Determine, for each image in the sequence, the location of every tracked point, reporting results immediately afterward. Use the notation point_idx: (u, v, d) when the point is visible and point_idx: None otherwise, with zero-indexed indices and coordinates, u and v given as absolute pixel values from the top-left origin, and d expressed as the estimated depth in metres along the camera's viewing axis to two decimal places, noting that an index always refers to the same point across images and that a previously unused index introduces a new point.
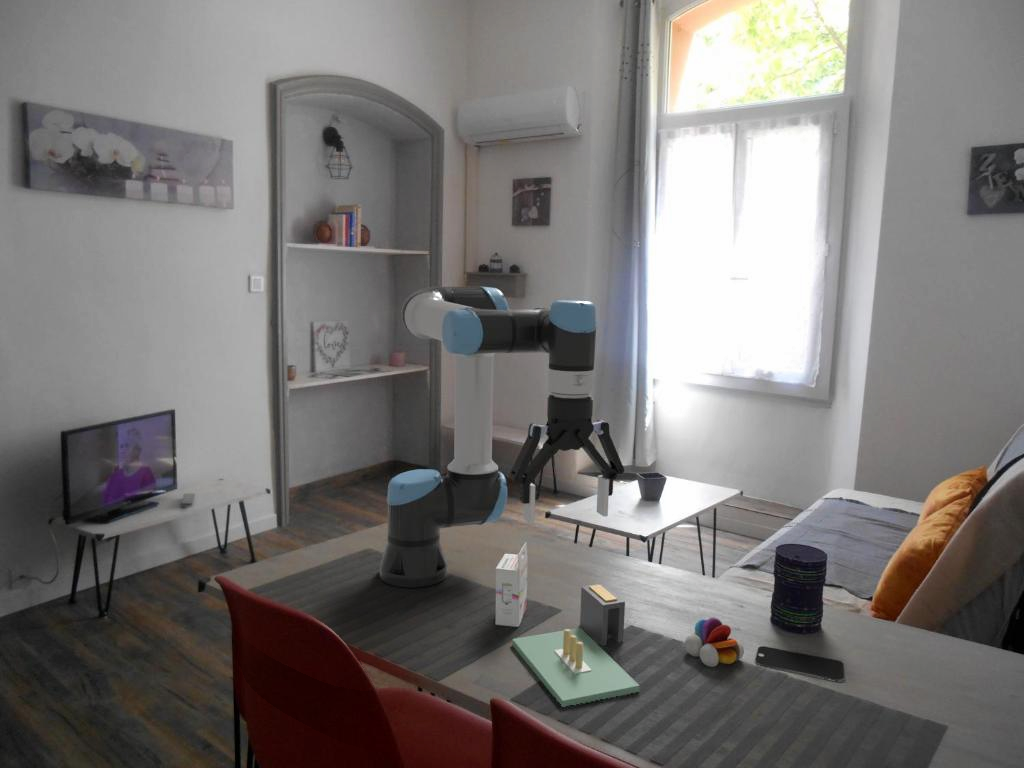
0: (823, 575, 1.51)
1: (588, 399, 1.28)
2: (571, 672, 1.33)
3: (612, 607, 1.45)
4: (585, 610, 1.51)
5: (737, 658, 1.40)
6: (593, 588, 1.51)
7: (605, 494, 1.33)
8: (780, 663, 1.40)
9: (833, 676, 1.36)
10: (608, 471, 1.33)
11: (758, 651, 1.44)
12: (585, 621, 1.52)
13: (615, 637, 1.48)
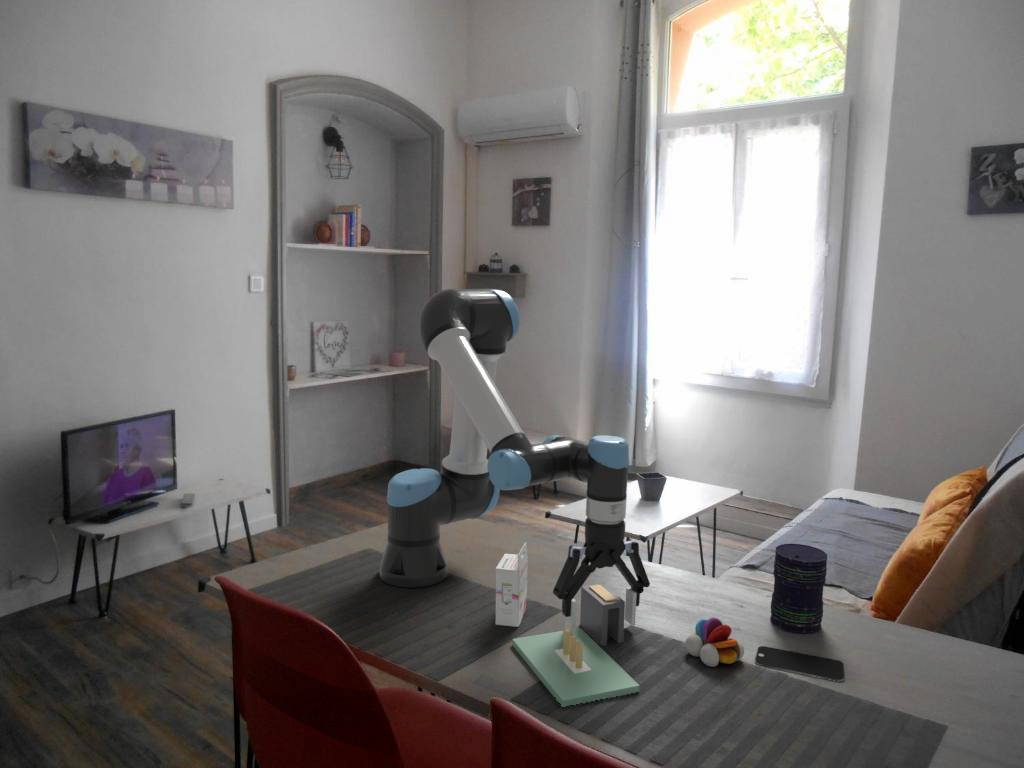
0: (823, 575, 1.51)
1: (621, 524, 1.45)
2: (571, 672, 1.33)
3: (612, 607, 1.45)
4: (585, 610, 1.51)
5: (737, 658, 1.40)
6: (593, 588, 1.51)
7: (633, 606, 1.51)
8: (780, 663, 1.40)
9: (833, 676, 1.36)
10: (636, 585, 1.50)
11: (758, 651, 1.44)
12: (585, 621, 1.52)
13: (615, 637, 1.48)
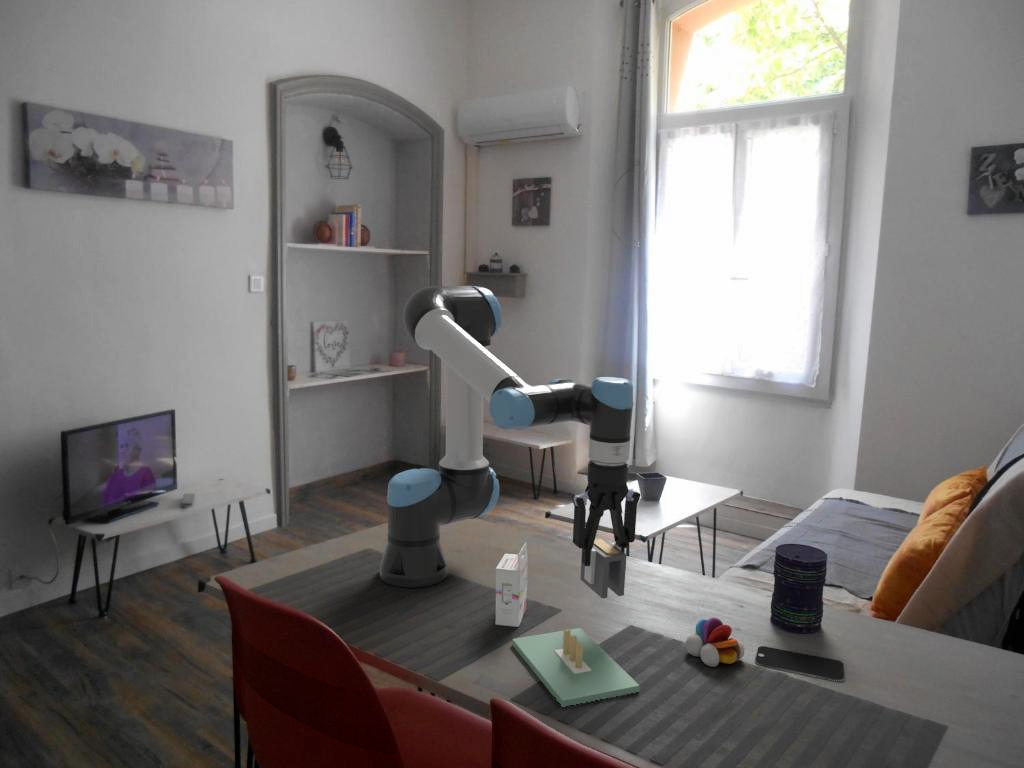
0: (823, 575, 1.51)
1: (625, 466, 1.43)
2: (571, 672, 1.33)
3: (613, 560, 1.44)
4: None
5: (738, 658, 1.40)
6: (594, 542, 1.50)
7: None
8: (780, 663, 1.40)
9: (833, 676, 1.36)
10: (622, 539, 1.48)
11: (758, 651, 1.44)
12: None
13: (616, 591, 1.47)
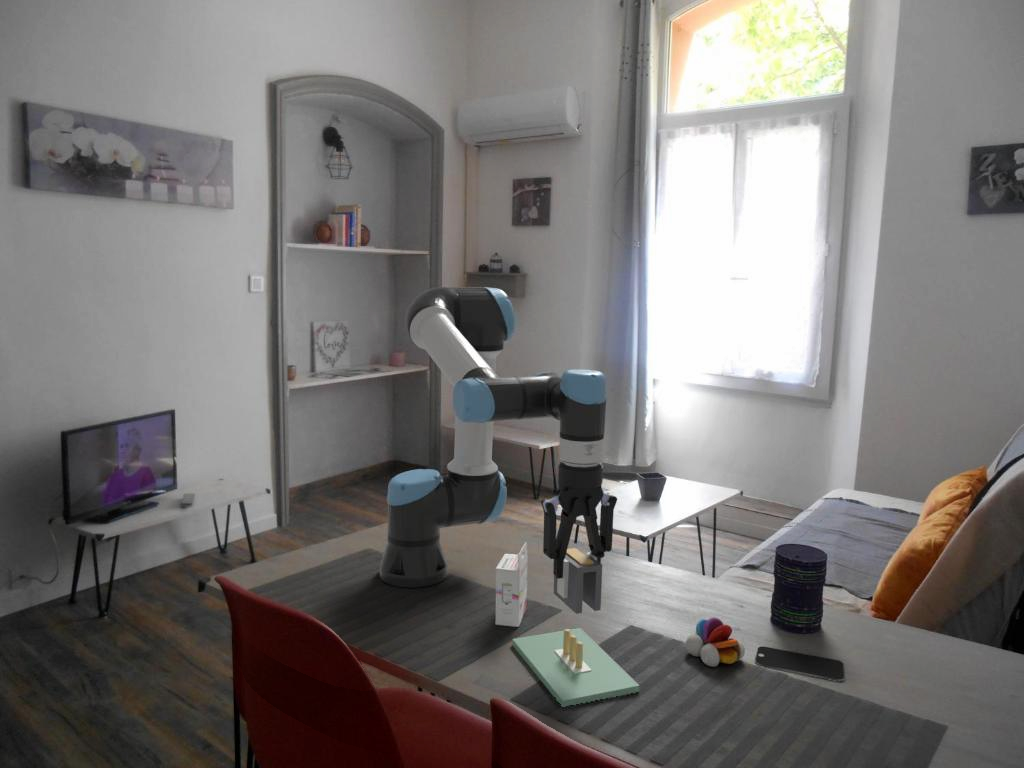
0: (823, 575, 1.51)
1: (598, 467, 1.30)
2: (571, 672, 1.33)
3: (588, 571, 1.30)
4: None
5: (738, 658, 1.40)
6: (568, 551, 1.36)
7: None
8: (780, 663, 1.40)
9: (833, 676, 1.36)
10: (598, 548, 1.35)
11: (758, 651, 1.44)
12: None
13: (592, 605, 1.33)
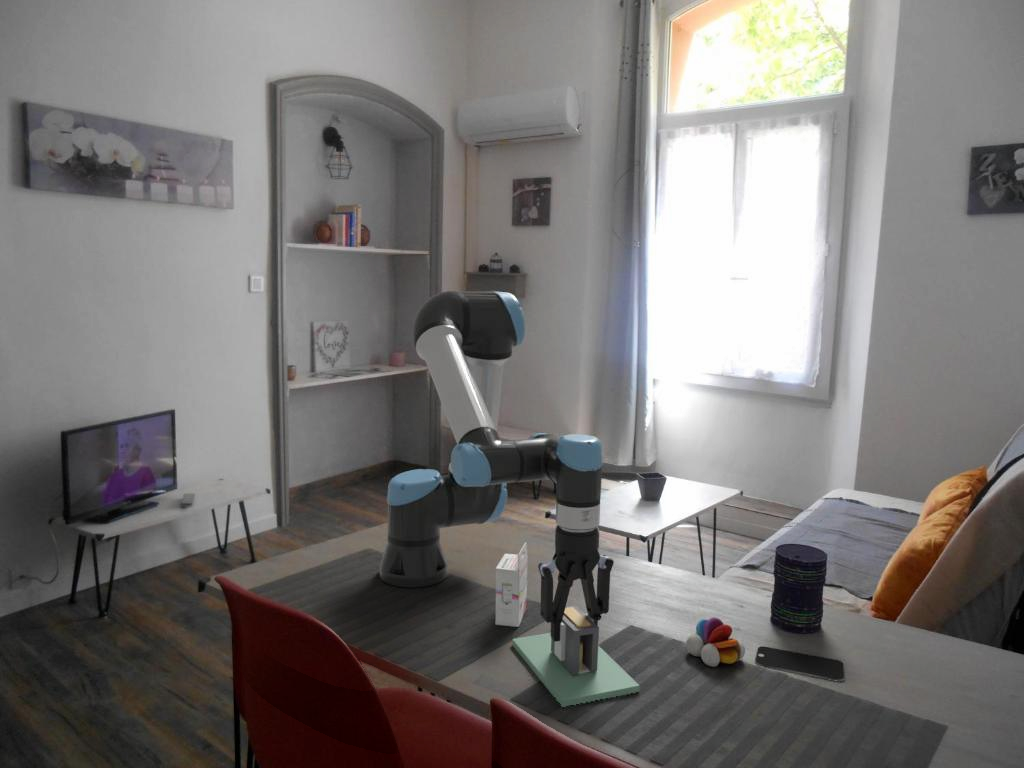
0: (823, 575, 1.51)
1: (595, 532, 1.31)
2: None
3: (585, 633, 1.32)
4: None
5: (738, 658, 1.40)
6: (565, 611, 1.37)
7: None
8: (780, 663, 1.40)
9: (833, 676, 1.36)
10: (595, 610, 1.36)
11: (758, 651, 1.44)
12: None
13: (588, 666, 1.34)
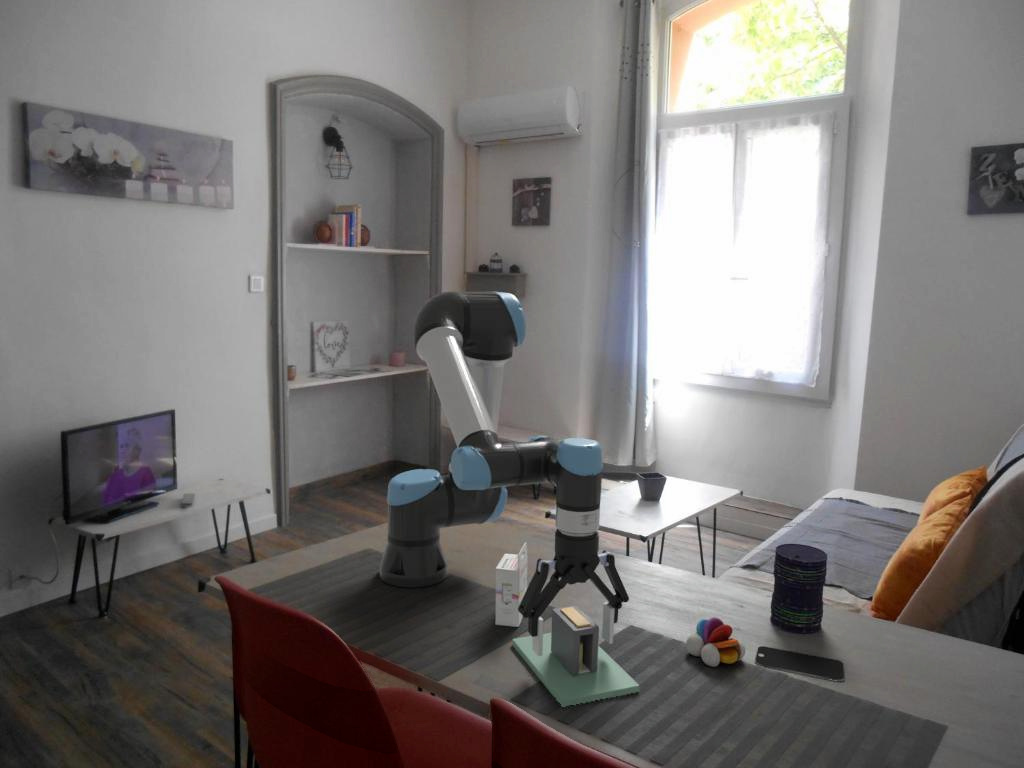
0: (823, 575, 1.51)
1: (594, 536, 1.32)
2: None
3: (585, 633, 1.32)
4: (556, 635, 1.37)
5: (738, 658, 1.40)
6: (565, 611, 1.37)
7: (610, 623, 1.37)
8: (780, 663, 1.40)
9: (833, 676, 1.36)
10: (613, 601, 1.37)
11: (758, 651, 1.44)
12: (556, 647, 1.38)
13: (588, 666, 1.34)
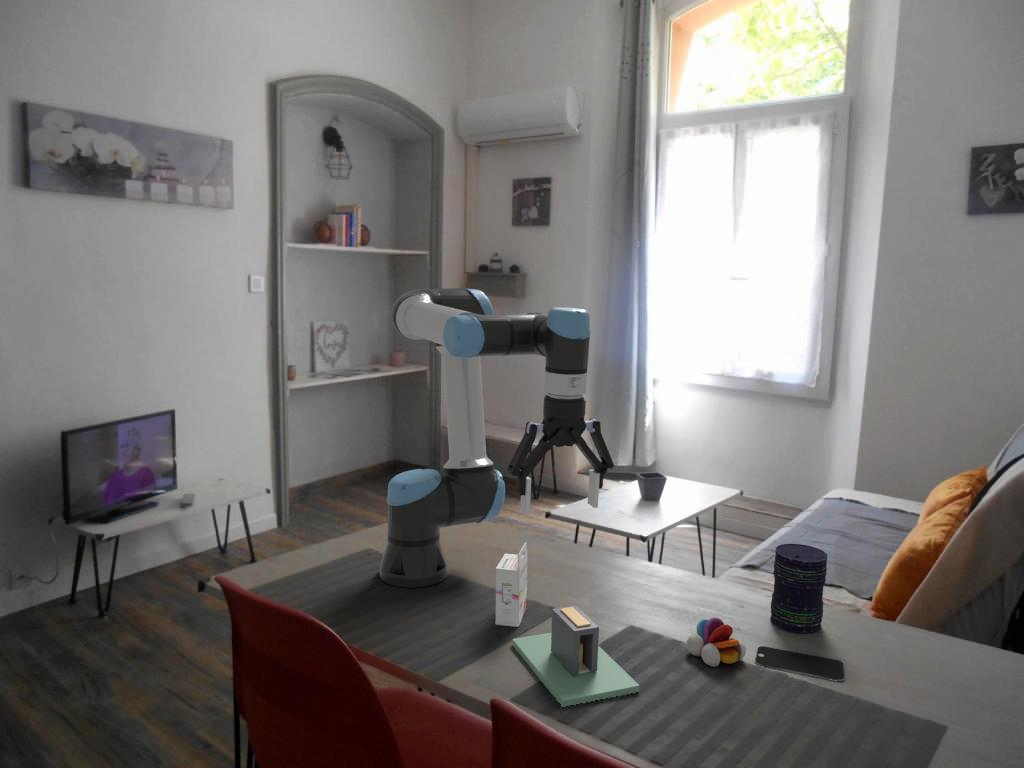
0: (823, 575, 1.51)
1: (581, 400, 1.38)
2: None
3: (585, 633, 1.32)
4: (556, 635, 1.37)
5: (739, 658, 1.40)
6: (565, 611, 1.37)
7: (596, 487, 1.44)
8: (780, 663, 1.40)
9: (833, 676, 1.36)
10: (599, 466, 1.43)
11: (758, 651, 1.44)
12: (556, 647, 1.38)
13: (588, 666, 1.34)
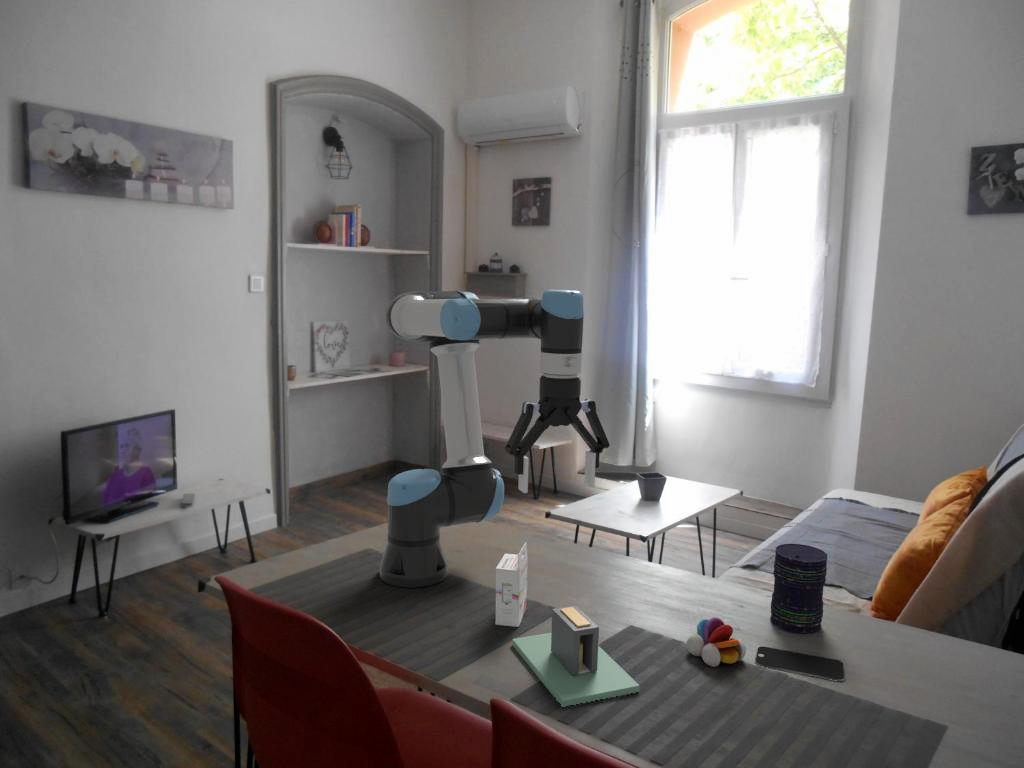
0: (823, 575, 1.51)
1: (576, 379, 1.41)
2: None
3: (585, 633, 1.32)
4: (556, 635, 1.37)
5: (739, 658, 1.40)
6: (565, 611, 1.37)
7: (592, 466, 1.46)
8: (780, 663, 1.40)
9: (833, 676, 1.36)
10: (595, 445, 1.46)
11: (758, 651, 1.44)
12: (556, 647, 1.38)
13: (588, 666, 1.34)
